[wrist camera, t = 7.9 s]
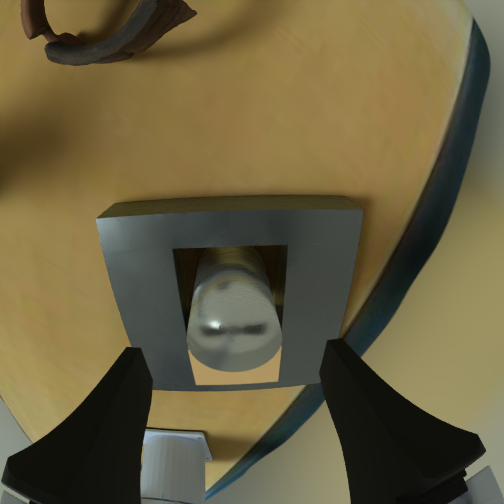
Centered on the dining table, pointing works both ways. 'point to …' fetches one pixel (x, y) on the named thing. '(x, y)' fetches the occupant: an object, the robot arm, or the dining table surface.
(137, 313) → the hole plate
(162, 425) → the dining table surface
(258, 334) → the steel peg
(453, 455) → the robot arm
